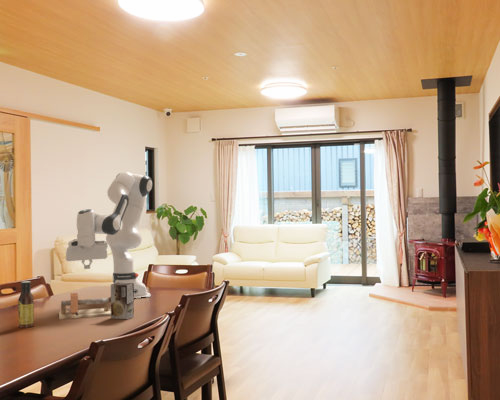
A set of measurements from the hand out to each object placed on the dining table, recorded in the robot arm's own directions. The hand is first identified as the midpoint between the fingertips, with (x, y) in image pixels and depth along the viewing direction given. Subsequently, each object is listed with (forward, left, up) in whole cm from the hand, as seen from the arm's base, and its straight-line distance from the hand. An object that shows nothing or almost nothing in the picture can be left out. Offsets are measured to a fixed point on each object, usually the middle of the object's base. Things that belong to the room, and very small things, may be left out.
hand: (87, 268), depth 271 cm
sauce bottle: (+28, +30, -21) cm, 46 cm away
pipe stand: (+2, +12, -21) cm, 24 cm away
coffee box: (-14, +26, -21) cm, 36 cm away
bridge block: (+7, +12, -19) cm, 23 cm away
